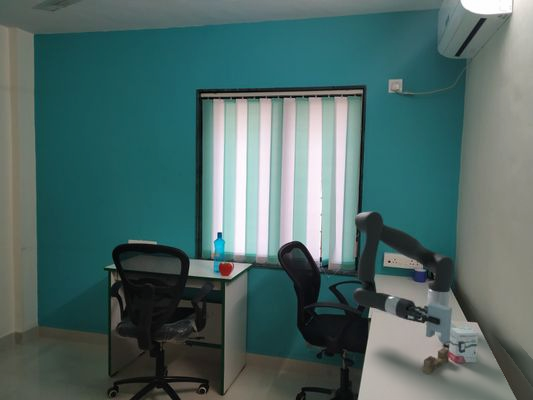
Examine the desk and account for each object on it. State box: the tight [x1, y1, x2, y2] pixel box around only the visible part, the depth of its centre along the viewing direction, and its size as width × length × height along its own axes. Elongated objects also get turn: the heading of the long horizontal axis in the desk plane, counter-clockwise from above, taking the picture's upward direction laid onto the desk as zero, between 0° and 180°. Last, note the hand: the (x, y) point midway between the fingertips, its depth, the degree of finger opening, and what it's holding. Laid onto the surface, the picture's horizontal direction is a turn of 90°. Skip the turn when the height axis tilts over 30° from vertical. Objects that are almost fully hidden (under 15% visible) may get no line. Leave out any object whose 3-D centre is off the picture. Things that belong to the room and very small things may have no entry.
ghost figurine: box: [436, 322, 457, 347], centre depth 169 cm, size 9×10×10 cm
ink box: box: [448, 326, 479, 364], centre depth 157 cm, size 8×5×12 cm, turn 98°
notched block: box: [425, 303, 453, 343], centre depth 150 cm, size 4×7×12 cm, turn 42°
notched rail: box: [422, 347, 450, 375], centre depth 152 cm, size 16×2×4 cm, turn 132°
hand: (442, 320), depth 149 cm, fingers closed on notched block, 4 cm apart
